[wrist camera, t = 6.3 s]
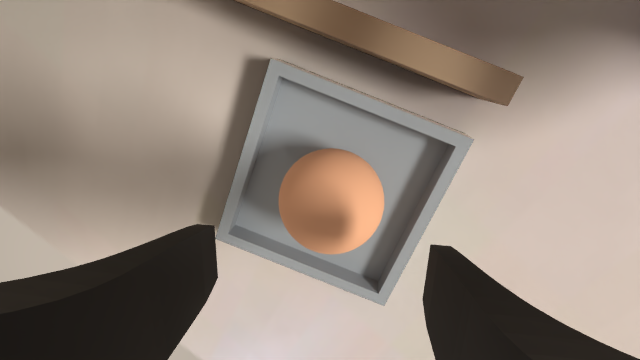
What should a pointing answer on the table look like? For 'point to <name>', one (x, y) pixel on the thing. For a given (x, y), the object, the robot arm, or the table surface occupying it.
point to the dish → (351, 135)
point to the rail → (396, 46)
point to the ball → (331, 201)
